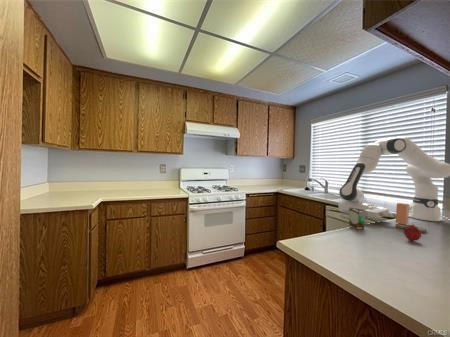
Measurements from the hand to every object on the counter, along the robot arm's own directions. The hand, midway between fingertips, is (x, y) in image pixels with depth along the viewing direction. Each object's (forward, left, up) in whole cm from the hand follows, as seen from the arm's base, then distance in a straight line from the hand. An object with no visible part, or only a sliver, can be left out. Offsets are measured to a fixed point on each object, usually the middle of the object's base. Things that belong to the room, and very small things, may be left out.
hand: (393, 215), depth 118 cm
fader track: (+5, +6, -6) cm, 10 cm away
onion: (+28, -3, -6) cm, 28 cm away
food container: (+16, -21, -6) cm, 27 cm away
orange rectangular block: (+3, +3, -4) cm, 6 cm away
